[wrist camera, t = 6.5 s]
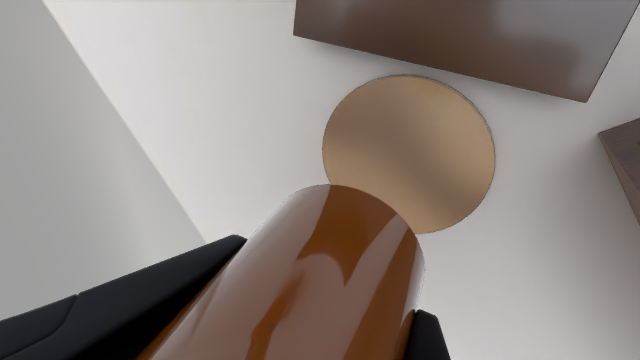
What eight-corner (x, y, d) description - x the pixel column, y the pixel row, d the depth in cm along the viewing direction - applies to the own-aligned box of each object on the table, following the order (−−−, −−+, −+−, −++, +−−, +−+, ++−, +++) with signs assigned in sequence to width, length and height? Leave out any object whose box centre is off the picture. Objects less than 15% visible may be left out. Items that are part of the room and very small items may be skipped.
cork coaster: (459, 251, 21) (459, 256, 21) (314, 201, 24) (312, 204, 23) (526, 101, 17) (527, 103, 16) (338, 56, 19) (336, 57, 19)
